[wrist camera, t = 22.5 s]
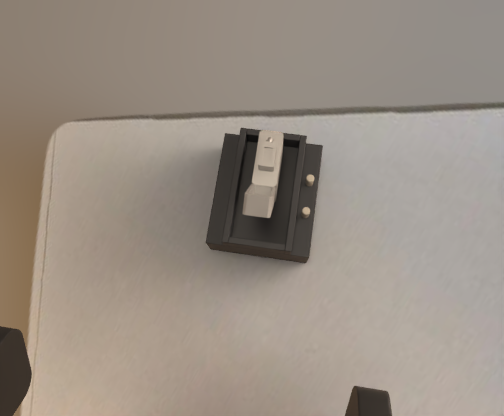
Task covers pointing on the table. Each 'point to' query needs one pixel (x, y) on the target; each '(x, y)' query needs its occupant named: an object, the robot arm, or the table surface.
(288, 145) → the dark grey holder tray
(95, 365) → the table surface
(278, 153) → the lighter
